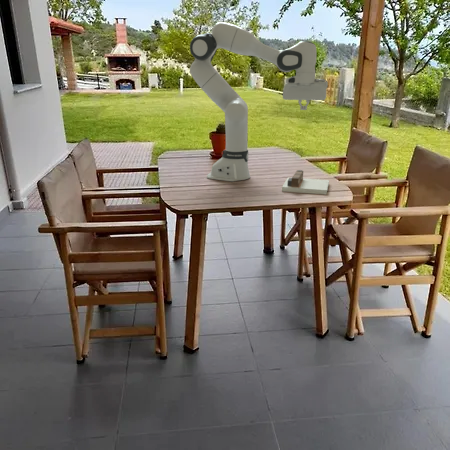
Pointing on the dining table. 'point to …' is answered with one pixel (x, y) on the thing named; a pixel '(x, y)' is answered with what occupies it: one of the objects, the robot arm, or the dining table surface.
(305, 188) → the board
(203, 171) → the dining table surface
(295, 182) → the stool leg
